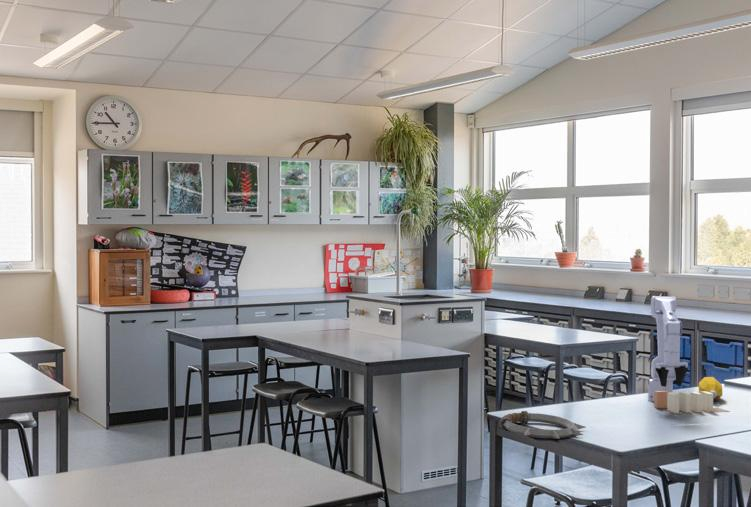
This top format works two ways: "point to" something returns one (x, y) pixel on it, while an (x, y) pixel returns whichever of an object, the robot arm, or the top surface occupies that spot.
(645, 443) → the top surface
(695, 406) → the domino
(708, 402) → the domino
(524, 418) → the spiked ring
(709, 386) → the yellow elongated lump
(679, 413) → the domino board
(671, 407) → the domino
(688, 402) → the domino
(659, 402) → the domino
